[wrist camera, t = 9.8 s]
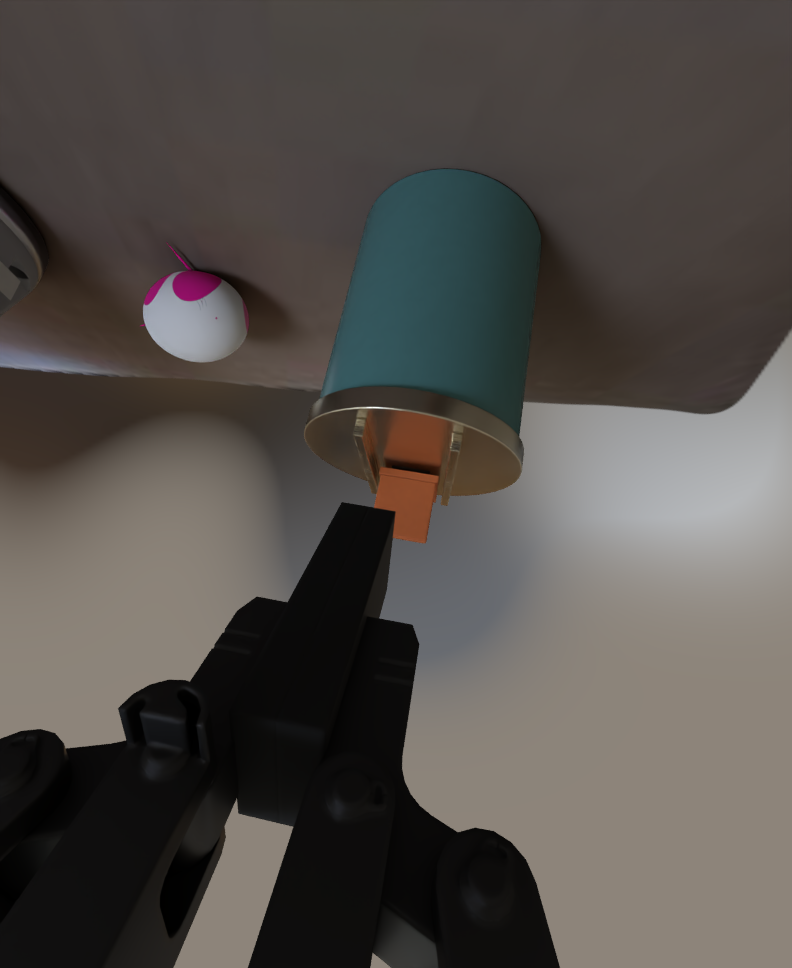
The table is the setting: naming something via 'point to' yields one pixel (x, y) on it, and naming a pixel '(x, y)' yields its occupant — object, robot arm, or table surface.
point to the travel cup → (434, 337)
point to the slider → (407, 501)
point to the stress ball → (195, 316)
